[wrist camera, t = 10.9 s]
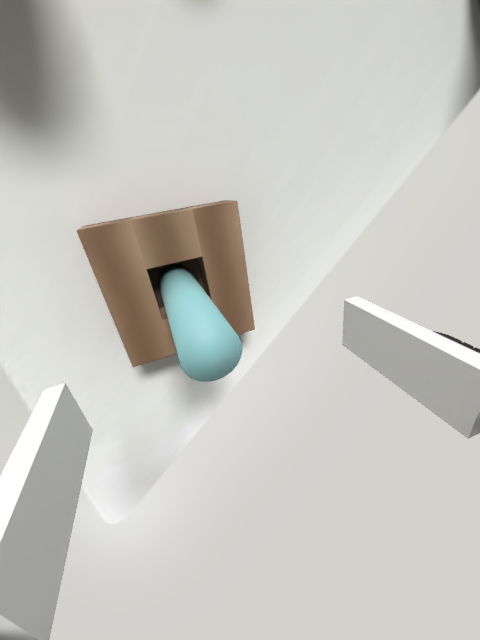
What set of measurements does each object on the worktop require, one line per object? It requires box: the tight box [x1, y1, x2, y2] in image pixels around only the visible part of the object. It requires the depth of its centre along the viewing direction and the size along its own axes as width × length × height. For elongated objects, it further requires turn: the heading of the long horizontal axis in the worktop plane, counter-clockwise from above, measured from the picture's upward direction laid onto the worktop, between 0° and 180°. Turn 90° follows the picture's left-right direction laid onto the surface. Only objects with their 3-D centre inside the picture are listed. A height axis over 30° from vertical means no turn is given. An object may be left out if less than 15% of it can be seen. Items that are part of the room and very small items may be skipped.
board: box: [77, 201, 255, 367], centre depth 24 cm, size 12×12×4 cm
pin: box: [158, 264, 242, 381], centre depth 19 cm, size 3×3×14 cm
